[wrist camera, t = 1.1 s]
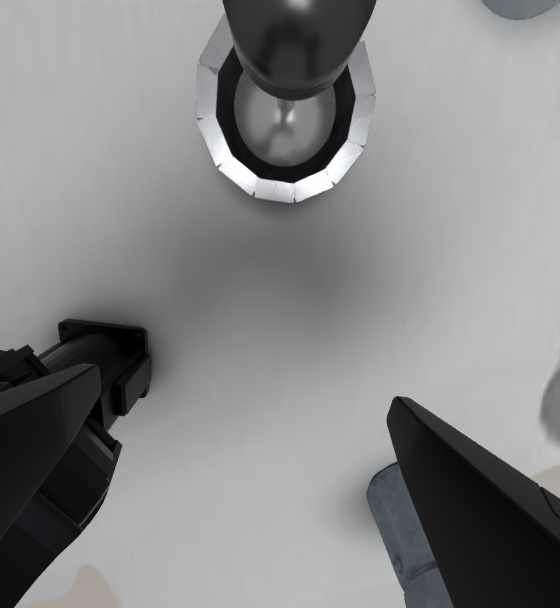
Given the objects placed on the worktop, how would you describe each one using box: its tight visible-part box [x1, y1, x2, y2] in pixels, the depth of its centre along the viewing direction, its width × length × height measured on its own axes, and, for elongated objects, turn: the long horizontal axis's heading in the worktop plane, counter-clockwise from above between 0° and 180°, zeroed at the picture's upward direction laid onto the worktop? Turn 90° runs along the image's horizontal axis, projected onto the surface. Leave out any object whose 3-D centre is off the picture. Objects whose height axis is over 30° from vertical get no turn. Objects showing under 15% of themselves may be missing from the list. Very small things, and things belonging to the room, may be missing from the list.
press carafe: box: [196, 13, 376, 204], centre depth 14 cm, size 8×11×5 cm
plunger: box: [223, 0, 376, 167], centre depth 9 cm, size 5×5×8 cm
